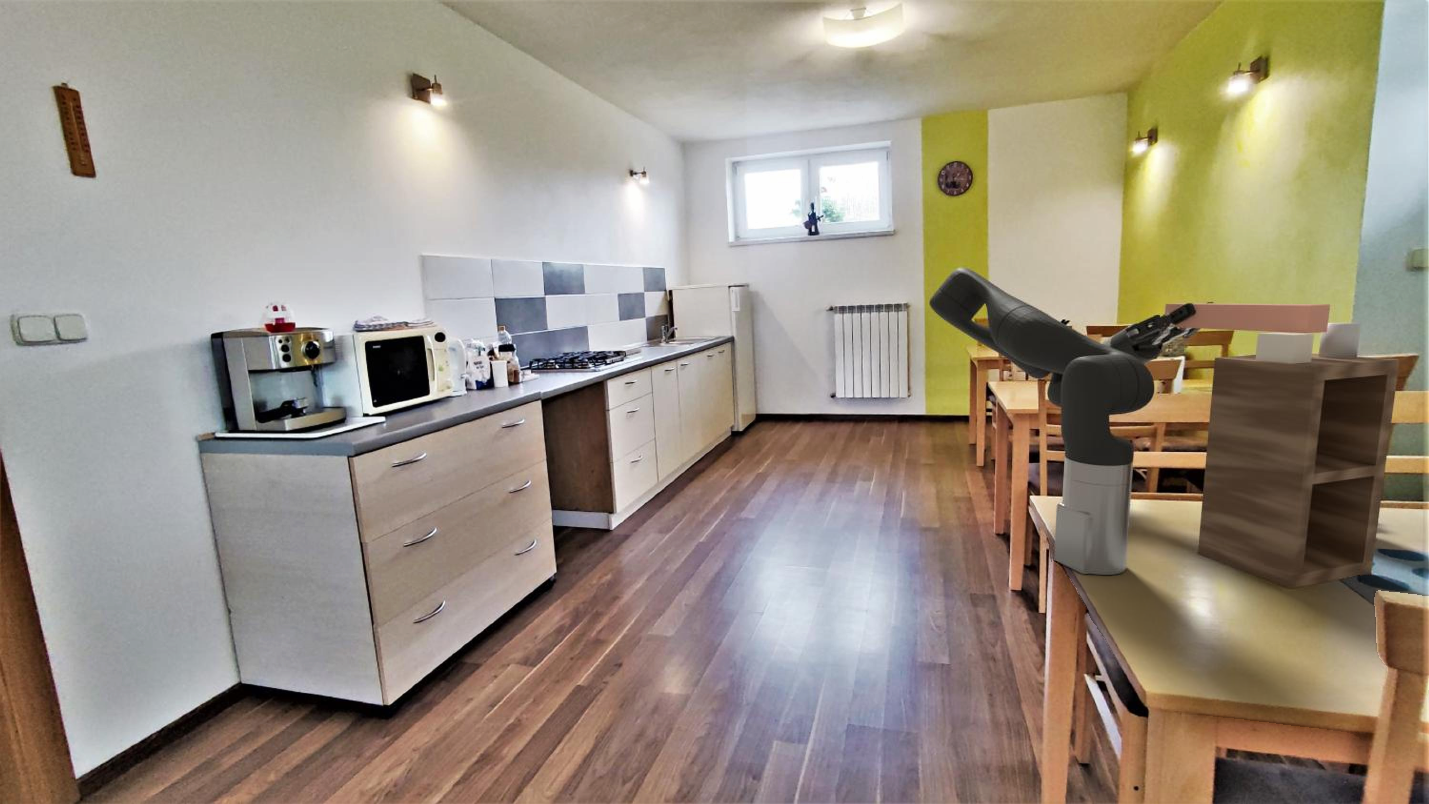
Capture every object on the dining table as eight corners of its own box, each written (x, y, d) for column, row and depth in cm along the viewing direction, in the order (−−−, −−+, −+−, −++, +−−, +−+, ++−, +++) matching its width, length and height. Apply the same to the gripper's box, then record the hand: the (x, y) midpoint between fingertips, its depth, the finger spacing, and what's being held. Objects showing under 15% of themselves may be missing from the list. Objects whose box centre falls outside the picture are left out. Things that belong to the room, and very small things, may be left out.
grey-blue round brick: (1343, 359, 97) (1347, 324, 96) (1311, 356, 101) (1314, 323, 100) (1364, 357, 98) (1368, 323, 97) (1331, 355, 102) (1335, 322, 101)
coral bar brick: (1306, 333, 96) (1309, 305, 96) (1163, 326, 118) (1165, 303, 118) (1327, 332, 97) (1330, 304, 97) (1181, 325, 119) (1183, 303, 119)
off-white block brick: (1291, 363, 94) (1294, 335, 93) (1255, 360, 99) (1257, 333, 98) (1310, 362, 95) (1314, 333, 94) (1273, 359, 100) (1276, 332, 99)
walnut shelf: (1290, 588, 95) (1315, 366, 90) (1197, 552, 109) (1214, 357, 104) (1371, 573, 99) (1399, 359, 94) (1272, 540, 113) (1292, 352, 108)
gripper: (1089, 335, 128) (1161, 289, 113) (1148, 331, 132) (1227, 286, 116) (1102, 370, 126) (1179, 328, 110) (1163, 366, 129) (1245, 325, 114)
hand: (1203, 307), depth 113 cm, fingers closed on coral bar brick, 4 cm apart
